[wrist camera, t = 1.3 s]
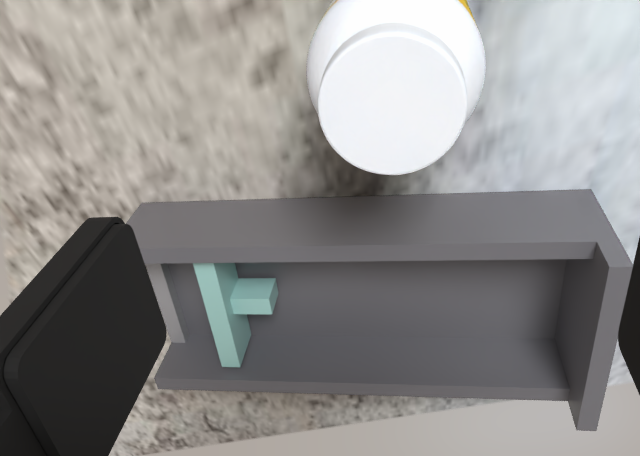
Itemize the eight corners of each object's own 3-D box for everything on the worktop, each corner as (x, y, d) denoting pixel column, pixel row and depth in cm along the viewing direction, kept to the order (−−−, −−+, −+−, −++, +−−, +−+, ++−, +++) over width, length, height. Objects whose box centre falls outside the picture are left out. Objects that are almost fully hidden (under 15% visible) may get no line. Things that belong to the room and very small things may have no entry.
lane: (591, 189, 31) (634, 266, 25) (566, 339, 36) (596, 431, 31) (141, 202, 35) (88, 271, 29) (183, 335, 41) (146, 414, 35)
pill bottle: (467, 81, 28) (498, 196, 19) (340, 94, 30) (306, 207, 20) (466, -63, 25) (502, -14, 15) (322, -42, 26) (271, 15, 16)
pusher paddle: (266, 230, 33) (255, 260, 31) (286, 334, 38) (277, 368, 35) (208, 232, 34) (192, 261, 31) (234, 334, 38) (221, 366, 36)
